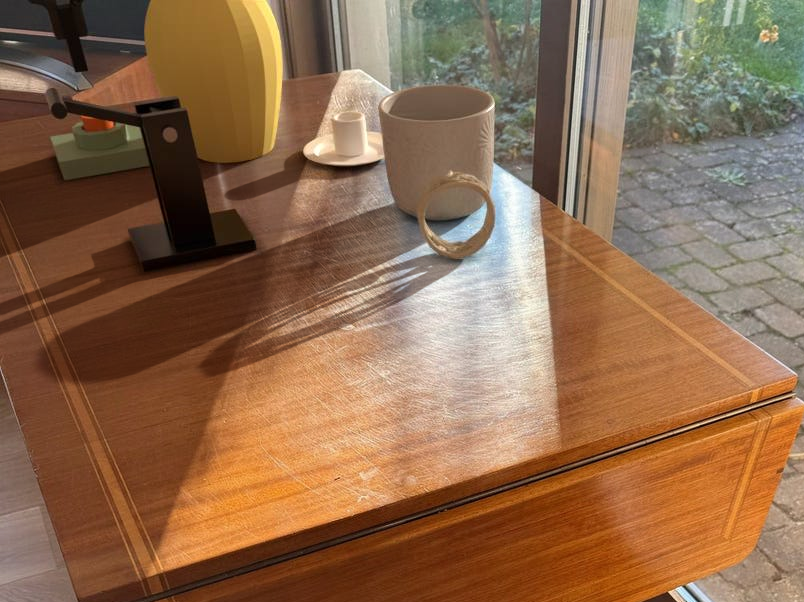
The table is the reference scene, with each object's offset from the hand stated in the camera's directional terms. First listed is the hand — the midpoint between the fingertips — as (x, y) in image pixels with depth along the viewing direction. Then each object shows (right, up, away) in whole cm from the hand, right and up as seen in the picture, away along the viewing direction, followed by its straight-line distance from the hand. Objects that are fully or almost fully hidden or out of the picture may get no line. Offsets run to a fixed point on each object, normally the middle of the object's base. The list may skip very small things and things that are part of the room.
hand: (80, 68), depth 118 cm
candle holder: (+32, -7, +7) cm, 33 cm away
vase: (+16, -5, +9) cm, 19 cm away
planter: (+44, -20, -6) cm, 48 cm away
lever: (+12, -18, -22) cm, 31 cm away
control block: (0, -7, +8) cm, 10 cm away
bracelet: (+46, -28, -15) cm, 56 cm away
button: (0, -5, +5) cm, 7 cm away
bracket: (+17, -26, -12) cm, 33 cm away
